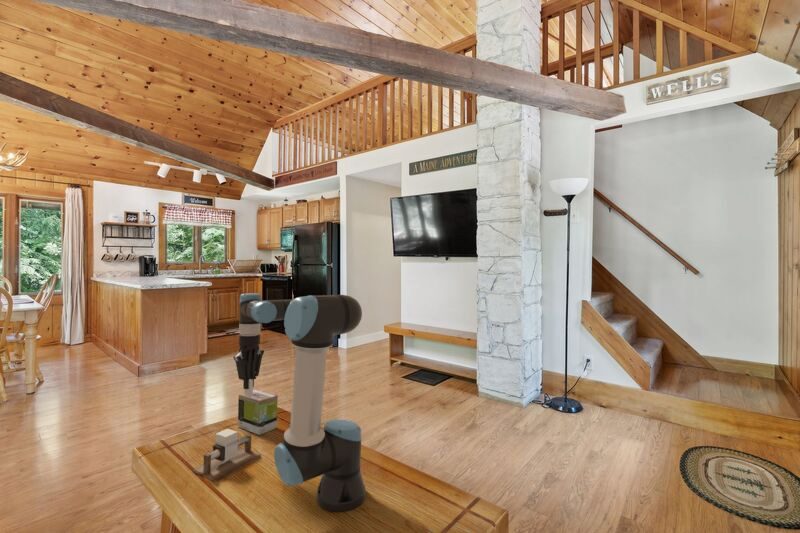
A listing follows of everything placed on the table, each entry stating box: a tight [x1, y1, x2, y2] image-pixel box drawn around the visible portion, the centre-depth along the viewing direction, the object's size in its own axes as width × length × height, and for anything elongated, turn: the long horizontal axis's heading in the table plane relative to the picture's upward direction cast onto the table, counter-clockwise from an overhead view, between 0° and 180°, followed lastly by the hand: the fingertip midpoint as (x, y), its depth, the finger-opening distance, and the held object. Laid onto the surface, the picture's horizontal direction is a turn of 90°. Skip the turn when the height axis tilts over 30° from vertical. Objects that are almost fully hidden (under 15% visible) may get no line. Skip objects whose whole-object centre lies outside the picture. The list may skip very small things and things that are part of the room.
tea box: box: [237, 388, 279, 436], centre depth 169 cm, size 15×10×15 cm, turn 58°
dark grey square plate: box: [212, 444, 225, 461], centre depth 134 cm, size 5×1×5 cm, turn 64°
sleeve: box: [214, 428, 239, 462], centre depth 137 cm, size 5×5×9 cm
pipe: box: [208, 435, 249, 460], centre depth 138 cm, size 3×16×3 cm, turn 154°
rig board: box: [192, 433, 262, 482], centre depth 138 cm, size 12×19×7 cm, turn 154°
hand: (248, 396), depth 144 cm, fingers closed
